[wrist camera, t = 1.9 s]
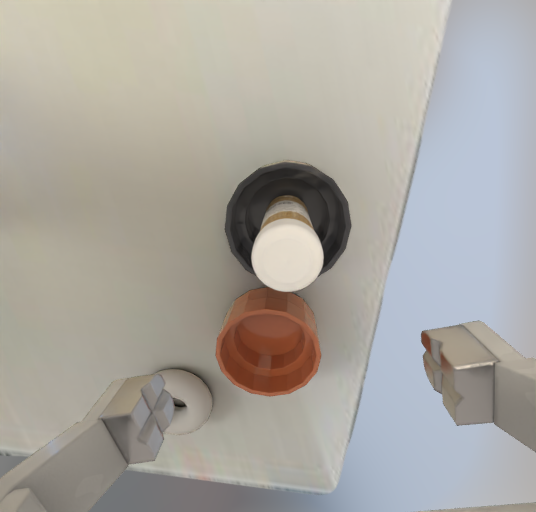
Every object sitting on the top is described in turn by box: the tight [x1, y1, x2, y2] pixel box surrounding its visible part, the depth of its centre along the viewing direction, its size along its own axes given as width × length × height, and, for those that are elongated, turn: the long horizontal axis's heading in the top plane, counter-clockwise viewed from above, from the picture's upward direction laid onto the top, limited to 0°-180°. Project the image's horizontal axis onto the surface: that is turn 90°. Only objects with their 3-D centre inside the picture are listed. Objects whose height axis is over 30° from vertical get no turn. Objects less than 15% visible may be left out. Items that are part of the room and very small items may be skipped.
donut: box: [155, 369, 212, 435], centre depth 38 cm, size 10×4×10 cm
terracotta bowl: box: [216, 287, 321, 396], centre depth 33 cm, size 11×11×6 cm
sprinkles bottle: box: [251, 195, 324, 292], centre depth 24 cm, size 5×5×14 cm
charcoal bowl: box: [225, 160, 351, 277], centre depth 28 cm, size 11×11×6 cm
